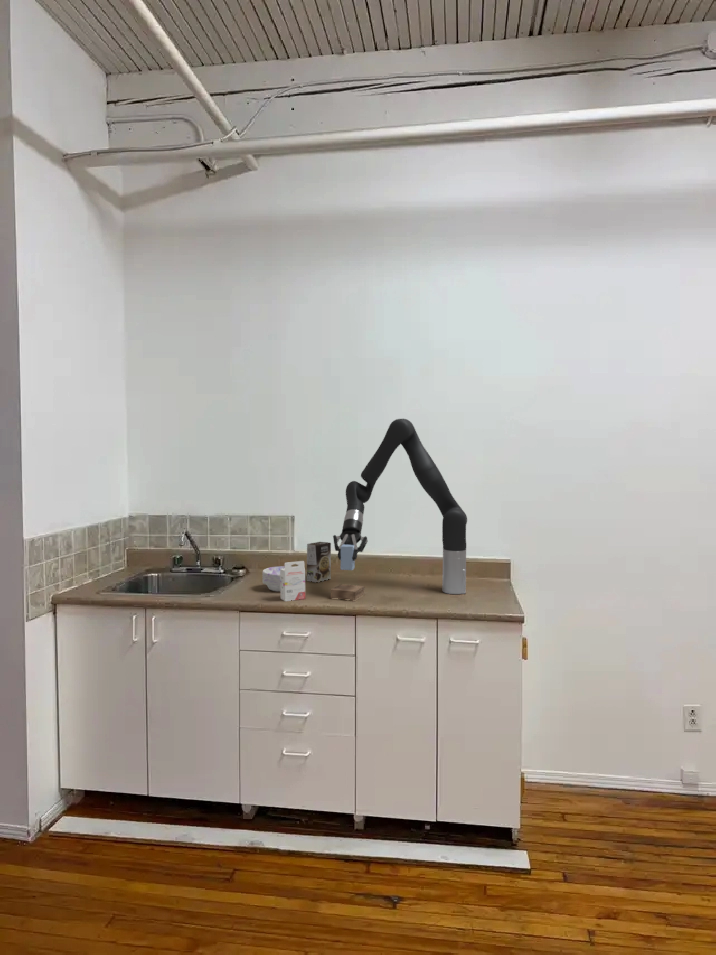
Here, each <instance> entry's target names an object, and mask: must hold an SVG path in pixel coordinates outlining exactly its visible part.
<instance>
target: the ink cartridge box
mask: <svg viewBox="0 0 716 955" xmlns="http://www.w3.org/2000/svg"><path fill="white" fill-rule="evenodd" d="M294 565H295V566H294ZM296 565H297V566H296ZM284 566H285V568H284V569H280V591H279V592H280V595H279V596H280V600H282V601H284V602H291V600H292V601H299V599H300V600H306V569H305V561H304V560H298V561H290V562H287V561H286V562H284Z"/></svg>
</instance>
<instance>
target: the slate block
mask: <svg viewBox="0 0 716 955" xmlns="http://www.w3.org/2000/svg"><path fill="white" fill-rule="evenodd" d="M353 551H354V545H342V546H341V560H340V570H342V571H344V570H345V571H354V569H355V565H356V560H355V561H353V559H352V557H353Z"/></svg>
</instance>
